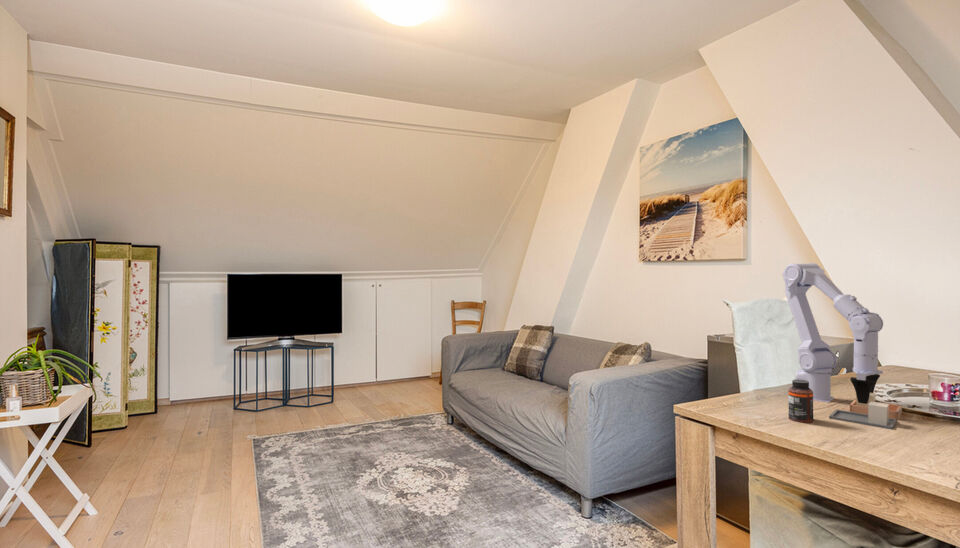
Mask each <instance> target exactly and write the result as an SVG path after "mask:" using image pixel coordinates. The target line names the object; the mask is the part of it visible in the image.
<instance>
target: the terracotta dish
mask: <svg viewBox="0 0 960 548" xmlns="http://www.w3.org/2000/svg"><path fill="white" fill-rule="evenodd" d="M876 402H877V403H882V402H880V401H876ZM883 403H884V404H889V418H892V419H897V421H899V419H900V417H901V415H902V414H903V405H900V404H894V403H887V402H883ZM849 412H855V413H861V414H867V415H868V407H864V406H857V405H856V398H855V399H853V401H852V402H851V403H850V404H849Z"/></svg>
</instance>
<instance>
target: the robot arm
mask: <svg viewBox="0 0 960 548" xmlns="http://www.w3.org/2000/svg"><path fill="white" fill-rule="evenodd" d="M781 276H782V277H783V281H784V292H785V298H786V299H787V303H788V305H789V308H790V312H791V314H792V318H793V320H794V323H795V327H796V328H797V329H796V330H797V332H798V335H799V339H800V341H801V344H800V346H798V348H797V353H798V359H797V360H798V364H799V366H800V368H801V369H796V372H795V378H794V380H796V379H800V380H806V381H808V382H809V388H810V389H811V390H812V391H813V401H815V402H823V403H831V401H833V400H834V399H835V396H831V395H832V394H831V390H832V388H831V384H832V383H831V381H832V380H831V379H832V372H833V369H834V368H835V367H836V366H837V362H838V360H837V357H836V355H835V352H833V351H832V350H831V347H830V345H829V344H828V343H826V342H825V341H824V340H823V339H822V338H821V335H820V332H819V329H818V326H817V324H816V321H815V318H814V315H813V311H812V308H811V306H810V303H809V301H808V298H807V295H806V293H807V292H808V291H809V289H810V288H812V287H813V286H814V287H816V288H817V289H818V290H819V291H821V292H822V293H823V294H824V295H825V296H827V297H828V298H829V299H830V300H831V301H833V308H834V309H835V310H836V311H837V312H838V313H840V315H841V316H843V318H844V319H845V320H847V321H848V327H849V329H850V331H851V332H852V338H853V367H852V372H853V373H854V374H855V375H856V377H855V376H854V377H852V376H851V377H850V379H849V380H850V382H851V384H852V385H853V388H854V390H855V397H856V396H857V400H858V403H863V404H867V403H868V400H869V395H870V393H874V391H875V387H876V384H877V382H878V380H879V379H880V377H881V375H883V373H884V370H882V369H881V370H879V333H880V331H881V330H882V329H883V327H884V320H883V319H882V317H881V316H880V314H878V313H877V312H871V311H870V310H869V309H868V308H867V307H866V308H865V306H863V305H862V303H860V302H859V301H858V300H857V299H858V298H857V297H856V296H855V295H851V294H845V293H843V292H842V291H841V289H839V287H837V286H836V284H835V283H833V281H832V280H831V279H830V278H829V277H828V276H827V275H826V273H825V270H824V269H823V268H821V267H820V265H818V264H817V263H814V262H812V263H811V262H810V263H793V262H792V263H789V264H787V266H785V269H784V270H783V272H782V274H781Z"/></svg>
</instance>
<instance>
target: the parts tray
mask: <svg viewBox="0 0 960 548" xmlns="http://www.w3.org/2000/svg"><path fill="white" fill-rule="evenodd" d="M828 419H829V420H830V419H831V420H835V421H842V422H846V423H853V424H860V425H864V426H870V427H877V428H881V429H886V430H893V429H894V428H895V426H896V424H897V422H898V420H897V419H892V418H889V423H888V424H887V426H886V425H880V424H875V423H869V422H868V415H867V414H861V413H855V412H850V410H848V411H847V410H842V409H835V410H834V411H833V412H832V413H830V415H829V416H828Z"/></svg>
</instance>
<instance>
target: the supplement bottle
mask: <svg viewBox="0 0 960 548" xmlns="http://www.w3.org/2000/svg"><path fill="white" fill-rule="evenodd" d="M791 385H792V386H790V387H789V388H788V397H787V398H788V403H787V404H788V420H790V421H793V422H796V423H802V424H812V423H813V422H814V400H813V391H812V390H811V389H810V388H809V382H808V381H806V380H800V379H796V380H795V379H792V383H791Z"/></svg>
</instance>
